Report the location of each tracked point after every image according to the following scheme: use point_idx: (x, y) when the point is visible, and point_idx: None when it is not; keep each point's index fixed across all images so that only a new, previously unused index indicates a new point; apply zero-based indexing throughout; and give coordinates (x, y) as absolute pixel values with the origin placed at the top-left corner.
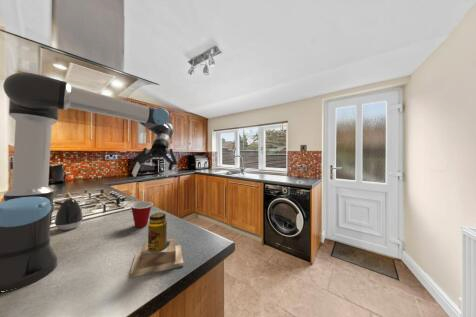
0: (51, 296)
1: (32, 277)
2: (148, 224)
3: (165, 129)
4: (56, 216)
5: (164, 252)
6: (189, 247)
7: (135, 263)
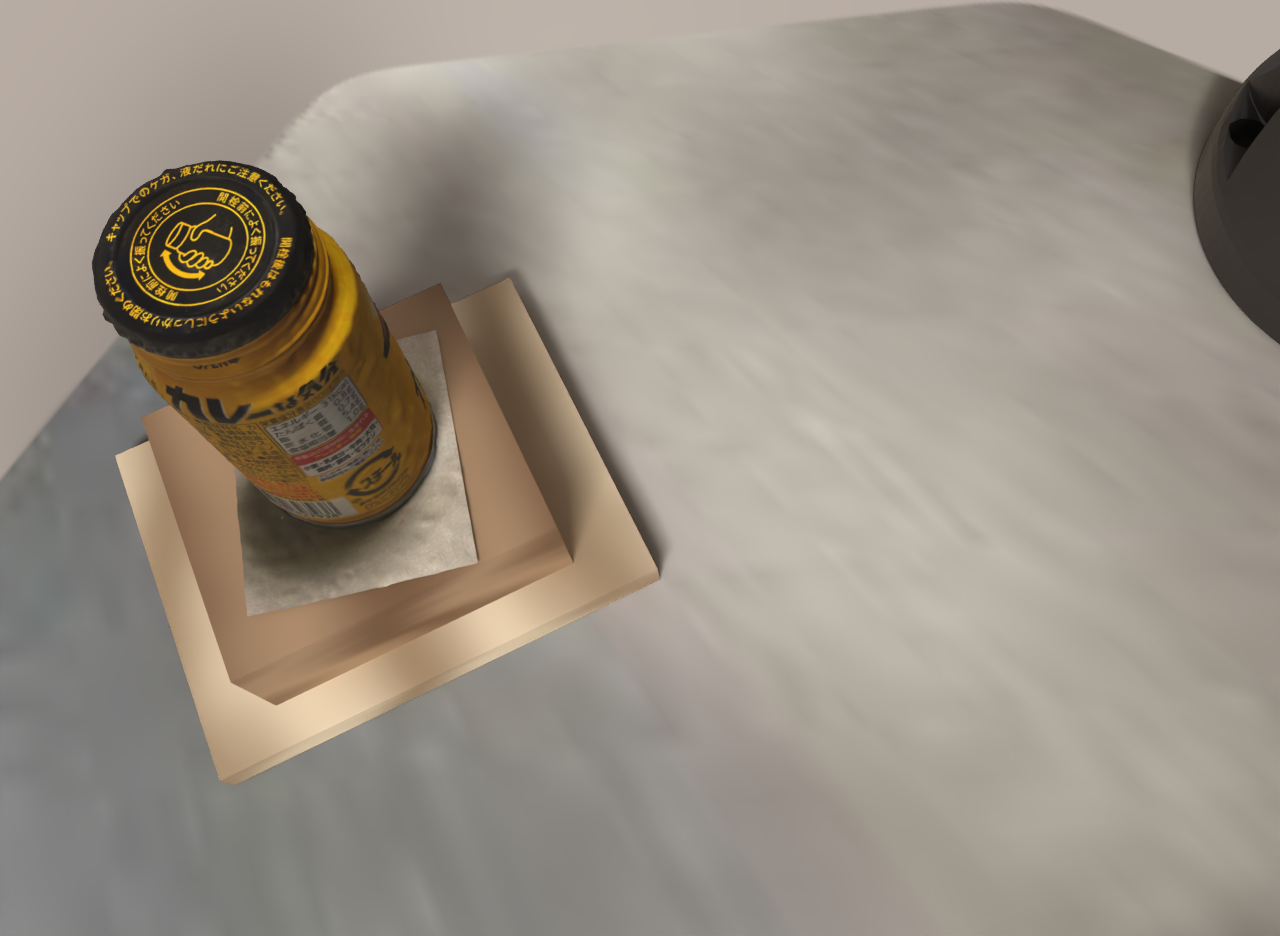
0: (906, 102)
1: (1212, 144)
2: (344, 254)
3: None
4: None
5: None
6: (127, 799)
7: (546, 398)
